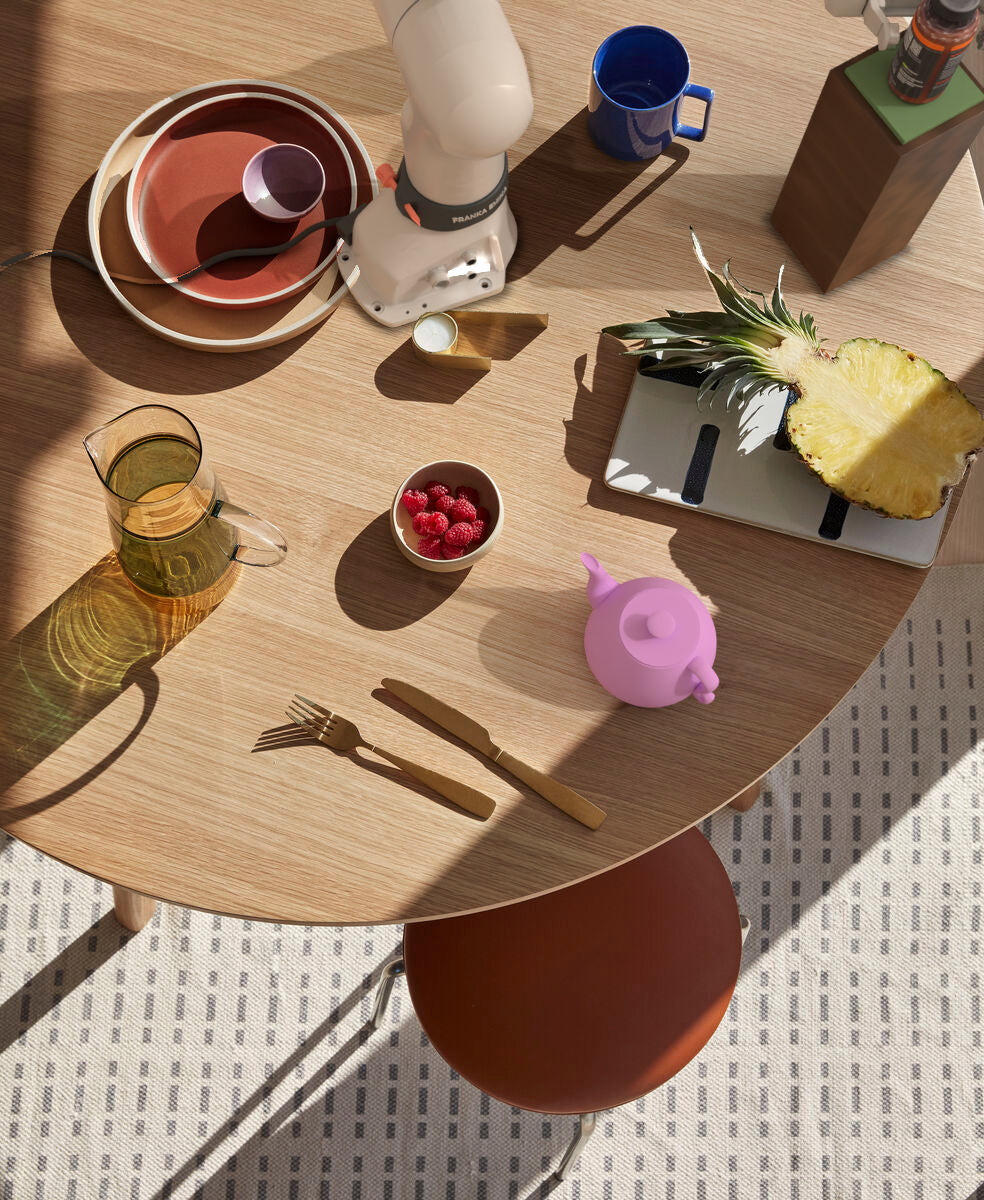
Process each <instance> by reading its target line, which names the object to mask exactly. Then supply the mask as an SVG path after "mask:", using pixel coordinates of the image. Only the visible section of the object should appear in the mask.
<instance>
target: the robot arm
mask: <svg viewBox="0 0 984 1200" xmlns="http://www.w3.org/2000/svg"><path fill="white" fill-rule="evenodd" d="M921 1H922V0H824V2H823V4H824V8H825V10H826V11H827V12H828V13H829V14H830V15H831V16H832V17H833V18H862V19H863V24H864V26H865V27H867V29H868V30H869V31H870V32H871V33H872V35H873V36H874V37H875V38H877V44H878V48H879V50H895V49H896V45H897V44H898V43H899V40H900V23H898V22H891V21H890V20H889V19H888V18H913V16H914V14H915V12H916V10H917V8H918V6H919V4H920V3H921ZM371 3H372V7H373V8H374V11H375V13H376V15H377V18H378V20H379V23H380V25H381V28H382V30H383V32H384V35H385V37H386V40H387V43H388V45H389V47H390V49H391V52H392V54H393V57H394V60H395V62H396V65H397V68H398V71H399V73H400V75H401V78H402V82H403V84H404V88H405V91H406V94H407V97H406V99H405V101H404V102H403V105H402V107H401V111H400V115H399V118H400V119H399V123H400V130H401V131H400V132H401V138H402V139H401V140H402V146H403V147H402V148H403V155H402V158H401V160H400V163H399V166H398V169H397V172H396V173H395V171H394V168H393V167H392V165H391V164H390V163H388V162H384V163H382V164H380V165H379V166H378V167H377V168H376V170H375V173H374V175H375V176H376V178H377V179H378V180H379V181H380V182H381V185H382V187H383V189H381V191H380V192H379V193H378V194H377V195H376V196H375V197H374V198H373V199H372V200H371V201H370V203H368V204H367V203H366V202H363V203H362V204H361V205H359V206H358V207H357V208H354V209H353V210H352V211H350V213H348V214H347V215H344V216H339V217H332V218H329V219H325V220H322V221H321V220H320V221H319V222H316V223H313V224H311V225H310V226H308V227H306V228H304V229H303V230H302V231H301V232H300V233H298V234H297V235H296V236H294V237H293V238H292V239H290V240H289V241H287V242H285V243H283V244H280V245H276V246H272V247H265V248H262V247H261V248H239V249H233V250H228V251H224V252H221V253H218V254H216V255H214V256H212V257H210V258H208V259H206V260H204V261H202V262H201V263H199V264H198V265H196V266H194V267H192V268H191V269H189V270H186V271H185V272H182V273H179V274H177V275H176V276H180V275H182V274H185V273H187V272H189V271H191V270H192V269H194V268H196V267H198V266H199V265H201V264H203V263H204V262H206V261H208V260H210V261H208V262H206V263H205V264H203V265H202V266H200V267H198V268H197V269H195V270H193V271H191V272H190V273H188V274H185V275H183V276H181V277H178V278H177V279H178V281H181V282H184V281H185V280H186V281H187V280H188V279H190V278H193V277H194V276H196V275H198V274H199V273H201V272H203V271H205V270H206V269H208V268H210V267H212V266H213V265H215V264H217V263H220V262H222V261H226V260H228V259H232V258H237V257H238V258H239V257H248V256H249V257H251V256H252V257H253V256H270V255H276V254H280V253H283V252H286V251H289V250H290V249H292V248H294V247H296V246H298V245H299V244H300V243H301V242H302V241H304V240H305V239H307V238H308V237H309V236H310V235H312V234H314V233H315V232H317V231H320V230H322V229H325V228H329V227H332V226H335V227H336V230H337V235H338V236H339V238H340V237H341V238H342V239H343V240H344V241H345V242H344V244H343V245H342V248H341V250H340V253H339V254H338V256H337V255H336V262H337V266H338V269H339V273H340V275H341V277H342V279H343V281H344V284H346V281H347V279H348V277H349V276H350V275H351V272H352V271H353V269H354V267H355V266H356V265H358V267H359V270H360V275H359V277H358V279H357V281H356V283H355V284H354V285H353V287H352V288H351V289H348V291H349V292H350V293H351V295H352V297H353V298H354V299H355V301H356V302H357V304H358V305H359V306H360V307H361V308H362V310H364V312H365V313H366V314H368V316H370V318H372V319H374V320H375V321H376V322H378V323H379V324H382V325H383V326H385V327H389V328H397V327H400V326H403V325H407V324H410V323H414V322H416V321H419V320H420V319H419V317H420V316H421V315H423V314H424V313H425V312H430V311H431V312H435V311H439V312H441V313H443V312H447V311H450V310H453V309H455V308H459V307H463V306H465V305H469V304H471V303H474V302H478V301H481V300H484V299H486V298H487V299H488V298H490V297H493V296H496V295H498V294H501V292H502V291H503V290H504V288H505V285H506V271H507V267H508V264H509V263H510V261H511V259H512V257H513V255H514V253H515V251H516V246H517V242H518V226H517V222H516V219H515V216H514V214H513V212H512V210H511V208H510V205H509V201H508V196H507V193H508V190H509V179H510V178H509V175H510V174H509V172H510V171H509V158H508V153H507V151H508V150H509V149H510V148H511V147H513V146H514V145H515V144H516V143H517V142H518V141H519V140H520V139H521V138H522V136H523V135H524V133H525V132H526V131H527V130H528V127H529V126H530V124H531V121H532V119H533V116H534V113H535V103H534V97H533V92H532V86H531V81H530V76H529V72H528V67H527V63H526V61H525V57H524V54H523V52H522V49H521V47H520V45H519V43H518V41H517V38H516V36H515V33H514V32H513V31H514V30H513V29H512V27H511V25H510V23H509V21H508V18H507V16H506V14H505V12H504V10H503V7H502V4H501V2H500V0H371ZM977 8H978V11H979V14H980V18H983V17H984V0H981V1H980V4H979V5H978V7H977ZM975 42H976V44H977V45H976V46H977V47H976V48H977V50H978V51H984V22H983V24H982V25H981V26H980V30H979V31H978V32H977V33H976V35H975ZM339 238H338V239H337V240H336V243H337V242H338V241H339ZM45 249H46V250H61V251H66V252H69V253H72V254H75V255H77V256H79V257H80V258H82V259H84V260H86V261H87V262H89V263H91V264H92V265H93V266H92V265H90V264H88V263H86V262H85V261H83V260H81V259H80V258H78V257H76V256H74V255H71V254H68V253H65V252H59V251H52V252H48V253H44V254H41V255H38V256H35V257H32V258H30V259H29V260H31V259H35V258H36V259H37V258H42V257H64V258H68V259H70V260H73V261H75V262H77V263H79V264H81V265H83V266H84V267H86V268H87V269H89V270H91V271H93V272H95V273H96V274H99V272H98V270H97V268H95V267H94V266H95V264H96V263H94V262H92V261H91V260H89V259H87V258H85V257H83V255H81V254H78V253H76V252H74V251H71V250H66V249H62V248H61V249H59V248H45ZM31 251H32V252H33V251H34V250H31ZM31 251H26V252H23V253H20V254H18V255H17V254H16V255H15V256H13V257H10V258H8V259H6V260H4V261H3V262H1V263H0V265H1V266H2V267H3V266H8V265H9V264H13V263H15V262H18V261H19V260H22V259H25V258H26V257H29V256H30V255H33V254H34V253H33V254H31V253H32V252H31ZM211 259H212V260H211ZM345 259H347V260H345ZM6 270H7V269H5V270H4V271H6ZM4 271H2V272H0V274H2V273H3V272H4ZM154 284H155V283H154ZM157 284H158V283H157ZM161 286H164V285H163V284H162V285H161ZM483 286H487V287H483ZM376 309H380V310H377V311H376ZM418 319H419V320H418Z"/></svg>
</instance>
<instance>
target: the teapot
mask: <svg viewBox="0 0 984 1200" xmlns="http://www.w3.org/2000/svg"><path fill="white" fill-rule="evenodd" d="M579 558H580V561H581V563H582V564H583V566H584V567H585V569H586V570H587V572H588V576H589V577H588V580H587V582H586V583H587V584H586V588H585V589H586V591H585V594H586V598H587V599H588V602H589V604H590V605H591V607H592V611H591V613H590V615H589V617H588V619H587V623H586V625H585V630H584V637H583V639H584V640H583V646H584V653H585V658H586V661H587V664H588V666H589V669H590V670H591V673H592V674H593V676H594V678H595V679H596V680H597V682H598V683H599V684H600V686H602V687H603V688H604V689H605V690H606V691H607V692H608V693H609V694H611V695H612V696H613V697H615V698H617V699H618V700H619V701H622V702H624V703H626V704H629V705H631V706H636V707H640V708H648V709H649V708H651V709H655V708H656V709H657V708H664V707H668V706H673V705H675V704H678V703H680V702H682V701H683V700H685V699H687V698H688V697H689V696H691V695H693V697H694V698H695V699H696V701H698V702H699V703H700V704H702V705H709V704H710V703H712V702H713V701H714V700H715V697H716V695H715V694H714V691H715V690H716V689H717V688H718V687H719V684H720V679H719V676H718V675H717V673H716V672H715V669H713V665H714V662H715V659H716V654H717V631H716V628H715V623H714V620H713V618H712V616H711V614H710V612H709V610H708V608H707V606H706V605H705V604H704V603H703V601H702V600H701V599H700V597H698V596H697V594H695V593H694V592H693V591H691V589H689V588H688V587H686V586H685V585H682V584H681V583H679V582H677V581H675V580H671V579H668V578H664V577H659V576H658V577H657V576H644V577H638V578H633V579H630V580H627V581H625V582H622V583H619V582H618V581H617V580H616V579H615V578H613V577H612V576H611V574H609V573H608V572H607V571H606V569H605V568H604V567H603V565H602V564H601V563H600V561H599V560H598V559H597V558H596V557H595V556H594V555H592V554H591V553H588V552H585V551H582V552H581V553H580V557H579Z"/></svg>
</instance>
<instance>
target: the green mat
mask: <svg viewBox="0 0 984 1200" xmlns="http://www.w3.org/2000/svg"><path fill="white" fill-rule="evenodd" d="M902 40H903V38H902V39H900V40H899V43H898V44H897V45H896V49H895V50H879V51H877V52H876V53H874V54H872V55H870V56H868V57H866V58H864V59H863V60H861V61H859V62H857V63H855V64H853V65H851V66H849V67H848V68H846V69H845V72H844V73H845V74H846V75H847V77H848V78H849V79H850V80H851V81H852V83H853V84H854V85H855V86H856V88H857V89H858V90H859V91H860V93H861V94H862V95H863V96H864V98H865V99H866V100H867V101H868V103H869V104H870V105H871V106H872V108H873V109H874V110H875V111H876V112H877V114H878V115H879V116H880V117H881V119H882V120H883V121H884V122H885V124H886V125H887V126H888V127H889V129H890V130H891V131H892V132H893V134H894V135H895V136H896V137H897V139H898V140H899V141H900V142H901V144H902V145H904V144H906V143H907V142H909V141H911V140H913V139H915V138H916V137H918V136H920V135H922V134H924V133H926V132H927V131H929V130H931V129H933V128H935V127H936V126H938V125H940V124H942V123H944V122H946V121H947V120H949V119H951V118H953V117H955V116H956V115H958V114H960V113H962V112H964V111H965V110H967V109H969V108H971V107H973V106H975V105H976V104H978V103H980V102H982V101H983V100H984V94H983V93H982V92H981V91H980V90H979V88H978V87H977V86H976V85H975V84H974V82H973V81H972V80H971V79H970V78H969V77H968V75H967V74H966V73H965V72H964V71H963V69H962V68H961V67H960V66H959V65H958V67H957V69H956V71H955V72H954V74H953V76H952V78H951V80H950V82H949V84H948V86H947V87H946V88H945V90H944V92H943V93H942V94H941V95H940V96H939V97H938V98H937V99H935V100H933V101H931V102H928V103H925V104H914V103H909V102H906V101H904V100H902V99H900V98H899V97H898V96H896V95H895V94H894V93H893V91H892V90H891V88H890V86H889V83H888V71H889V68H890V66H891V63H892V61H893V59H894V57H895V55H896V52H897V50H898V48H899V46H900V44H901V42H902Z"/></svg>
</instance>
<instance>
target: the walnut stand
mask: <svg viewBox="0 0 984 1200" xmlns="http://www.w3.org/2000/svg"><path fill="white" fill-rule="evenodd" d="M907 29H908V27H907V28H906V29H903V30H902V31H899V33H900V39H902V38H904V35H905V33H906V31H907ZM877 51H879V48H878V43H877V44H876V45H874V46H872V47H870V48H868V49H866V50H865V51H863V52H860V53H859V54H857V55H855V56H853V57H851V58H849V59H847V60H846V61H844V62H842V63H840V64H838V65H836V66H834V67H832V68H830V70H829V71H828V75H827V77H826V79H825V82H824V83H823V86H822V89H821V91H820V94H819V95H818V98H817V100H816V101H817V102H816V103H815V106H814V109H813V111H812V112H811V113H812V114H811V116H810V118H809V121H808V123H807V126H806V128H805V130H804V132H803V136H802V137H801V140H800V143H799V145H798V148H797V150H796V153H795V154H794V157H793V160H792V163H791V165H790V167H789V170H788V172H787V175H786V177H785V180H784V182H783V185H782V187H781V190H780V192H779V194H778V197H777V200H776V202H775V205H774V207H773V209H772V212H771V214H770V217H769V219H768V220H769V222H770V223H771V224H772V226H773V227H774V229H775V230H776V231H777V233H778V234H779V235H780V236H781V239H783V240H784V242H785V243H786V244H787V246H788V247H789V249H790V250H791V251H792V252H793V254H794V255H795V256H796V257H797V259H798V261H800V264H801V265H802V266H803V267H804V268H805V269H806V271H807V272H808V274H809V275H810V276H811V277H812V279H813V280H814V281H815V283H816V284H817V285H818V287H819V289H821V291H822V292H823V294H824V295H826V294H828V293H829V292H831V291H833V290H836V289H837V288H838V287H840V286H842V285H844V284H845V283H847V282H849V281H851V280H853V279H854V278H856V277H858V276H860V275H861V274H863V273H865V272H867V271H869V270H870V269H872V268H874V267H875V266H877V265H879V264H881V263H884V261H886V260H888V259H890V258H892V257H893V256H895V255H897V254H899V253H900V252H902V251H904V250H905V249H906V248H907V246H908V245H909V243H910V241H912V239H913V237H914V236H915V234H916V232H917V231H918V229H919V227H920V226H921V224H922V223H923V222H924V219H925V218H926V216H927V215H928V213H929V212H930V210H931V209H932V207H933V206H934V204H935V202H936V200H937V199H938V198H939V196H940V195H941V193H942V191H944V188H945V187H946V186H947V184H948V182H949V180H950V179H951V177H952V176H953V174H954V173H955V171H956V170H957V168H958V166H959V165H960V163H961V161H962V160H963V159H964V157H965V155H966V154H967V152H968V150H969V149H970V148H971V146H972V144H973V143H974V141H975V140H976V138H977V137H978V135H979V133H980V132H981V130H982V129H983V127H984V100H983V101H982V102H980V103H978V104H976V105H975V106H973V107H971V108H969V109H967V110H965V111H964V112H962V113H960V114H958V115H956V116H955V117H953V118H951V119H949V120H947V121H946V122H944V123H942V124H940V125H938V126H936V127H935V128H933V129H931V130H929V131H927V132H926V133H924V134H922V135H920V136H918V137H916V138H915V139H913V140H911V141H909V142H907V143H906V144H904V145H902V144H901V142H900V141H899V140H898V139H897V137H896V136H895V135H894V134H893V132H892V131H891V130H890V129H889V127H888V126H887V125H886V124H885V122H884V121H883V120H882V119H881V117H880V116H879V115H878V114H877V112H876V111H875V110H874V109H873V108H872V106H871V105H870V104H869V103H868V101H867V100H866V99H865V98H864V96H863V95H862V94H861V93H860V91H859V90H858V89H857V88H856V86H855V85H854V84H853V83H852V81H851V80H850V79H849V78H848V77H847V75H846V74H845V73H844V72H845V69H846V68H848V67H849V66H851V65H853V64H855V63H857V62H859V61H861V60H863V59H864V58H866V57H868V56H870V55H872V54H874V53H876V52H877ZM959 66H960V67H961V68H962V69H963V71H964V72H965V73H966V74H967V75H968V77H969V78H970V79H971V80H972V81H973V82H974V84H975V85H976V86H977V87H978V88H979V90H980V91H981V92H982V93H983V94H984V86H983V85H982V84H981V83H980V82H979V80H978V79H977V78H976V76H974V74H973V73H972V72H971V71H970V69H969V68H968V67H967V66H966V65H965V64H964V63H963V61H962V60H961V61H960V63H959Z"/></svg>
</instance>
